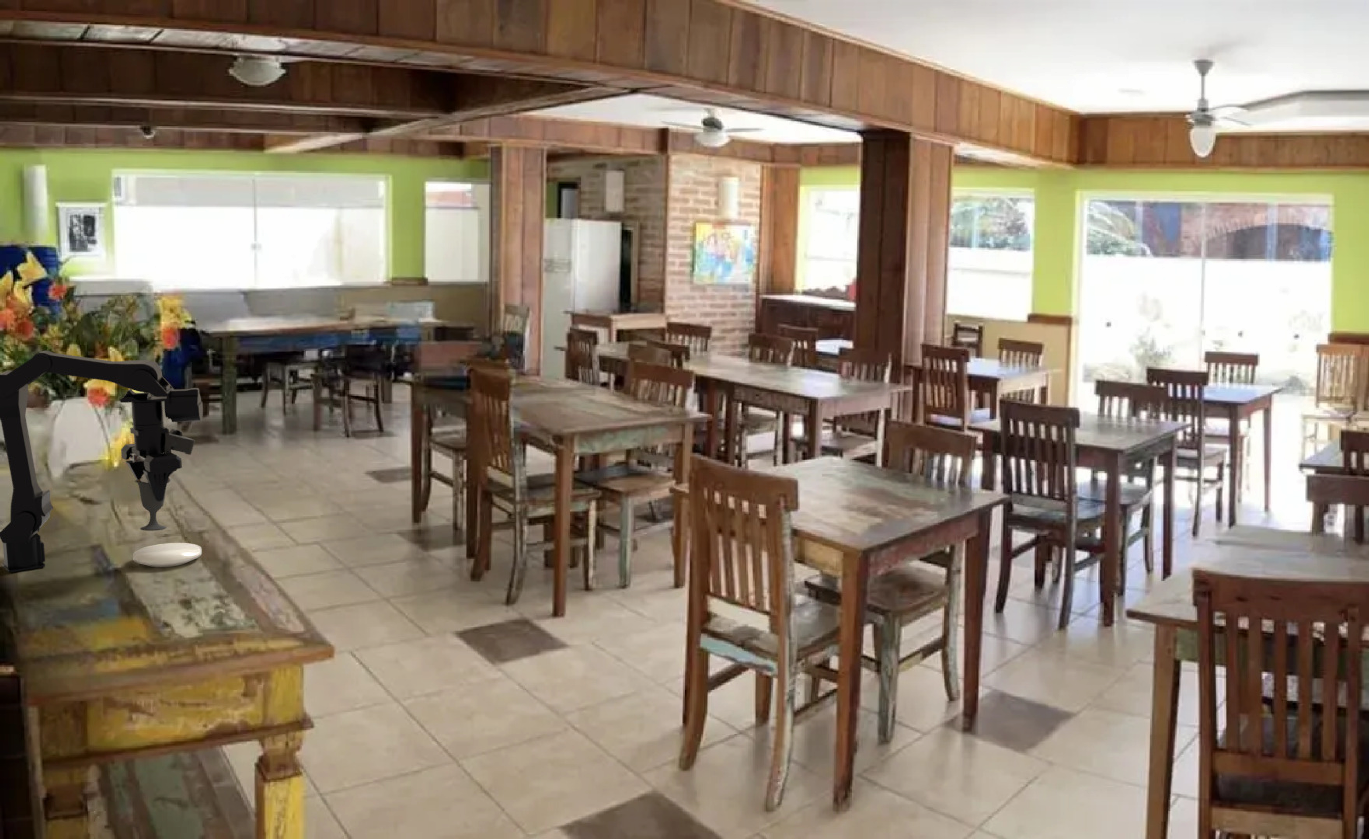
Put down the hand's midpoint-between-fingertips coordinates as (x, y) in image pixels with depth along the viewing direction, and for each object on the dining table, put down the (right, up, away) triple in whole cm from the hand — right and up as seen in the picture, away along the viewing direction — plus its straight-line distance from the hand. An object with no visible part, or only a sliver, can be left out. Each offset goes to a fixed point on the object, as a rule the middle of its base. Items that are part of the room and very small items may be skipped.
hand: (153, 497), depth 246 cm
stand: (+2, -13, +2) cm, 14 cm away
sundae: (0, -7, 0) cm, 7 cm away
